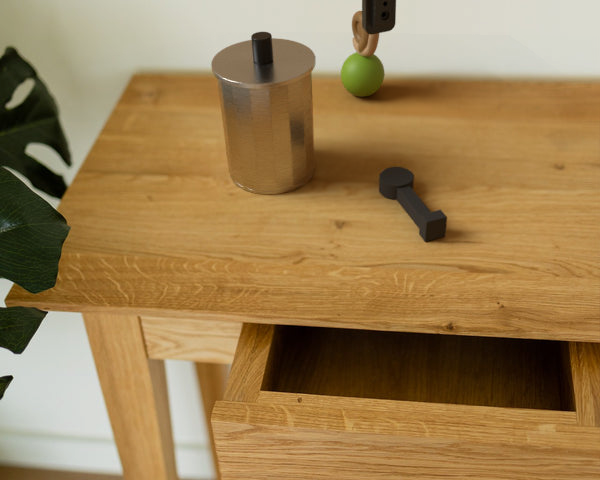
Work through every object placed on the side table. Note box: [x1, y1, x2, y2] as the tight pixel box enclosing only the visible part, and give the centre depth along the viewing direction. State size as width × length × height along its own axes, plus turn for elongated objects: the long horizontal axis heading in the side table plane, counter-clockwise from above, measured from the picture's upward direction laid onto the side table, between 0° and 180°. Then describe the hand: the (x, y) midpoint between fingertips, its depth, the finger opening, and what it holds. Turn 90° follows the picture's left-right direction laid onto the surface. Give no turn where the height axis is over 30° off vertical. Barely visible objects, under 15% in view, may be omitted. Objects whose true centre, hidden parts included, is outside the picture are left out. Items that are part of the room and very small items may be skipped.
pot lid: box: [210, 31, 316, 89], centre depth 75 cm, size 10×10×4 cm
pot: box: [216, 72, 316, 195], centre depth 80 cm, size 9×9×12 cm
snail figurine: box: [340, 10, 385, 98], centre depth 92 cm, size 5×6×12 cm
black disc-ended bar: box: [378, 166, 448, 242], centre depth 77 cm, size 4×11×2 cm, turn 19°
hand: (355, 9), depth 56 cm, fingers open, 8 cm apart
